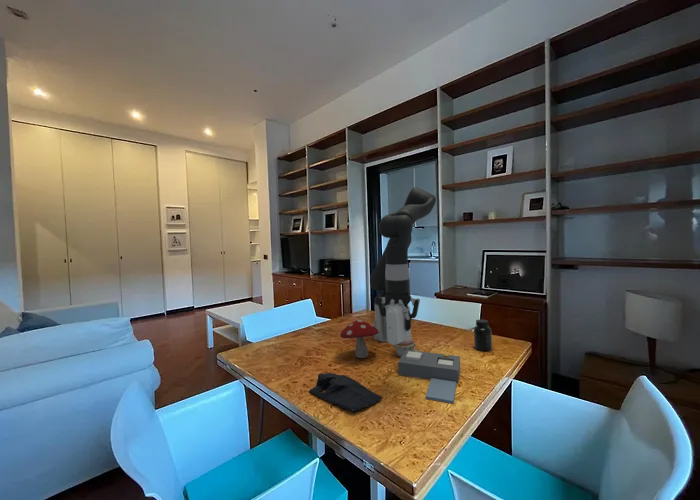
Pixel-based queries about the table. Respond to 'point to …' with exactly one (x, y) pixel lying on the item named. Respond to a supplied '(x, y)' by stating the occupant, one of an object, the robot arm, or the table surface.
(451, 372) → the switch box
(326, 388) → the folded black shirt
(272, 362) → the table surface
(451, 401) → the pad
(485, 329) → the supplement bottle
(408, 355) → the left switch
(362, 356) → the decorative mushroom
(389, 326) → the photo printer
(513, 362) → the table surface
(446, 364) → the right switch
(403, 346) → the cupcake
